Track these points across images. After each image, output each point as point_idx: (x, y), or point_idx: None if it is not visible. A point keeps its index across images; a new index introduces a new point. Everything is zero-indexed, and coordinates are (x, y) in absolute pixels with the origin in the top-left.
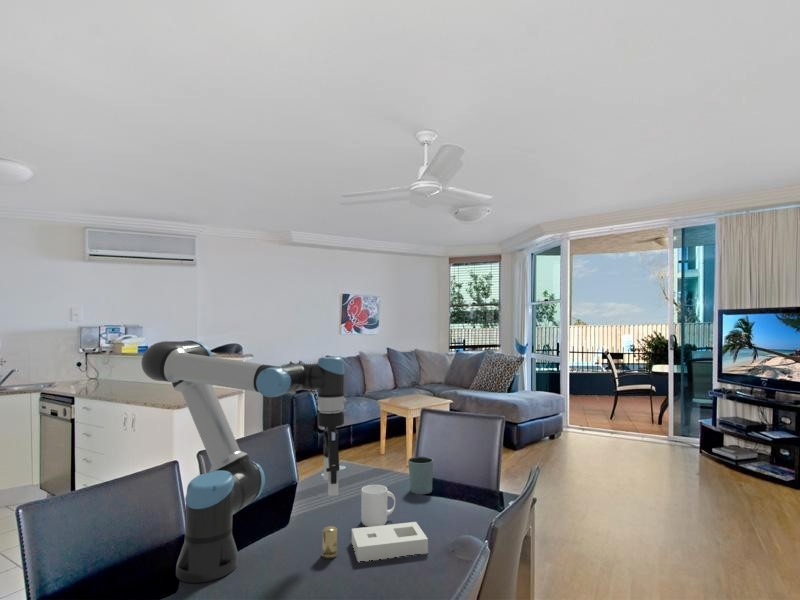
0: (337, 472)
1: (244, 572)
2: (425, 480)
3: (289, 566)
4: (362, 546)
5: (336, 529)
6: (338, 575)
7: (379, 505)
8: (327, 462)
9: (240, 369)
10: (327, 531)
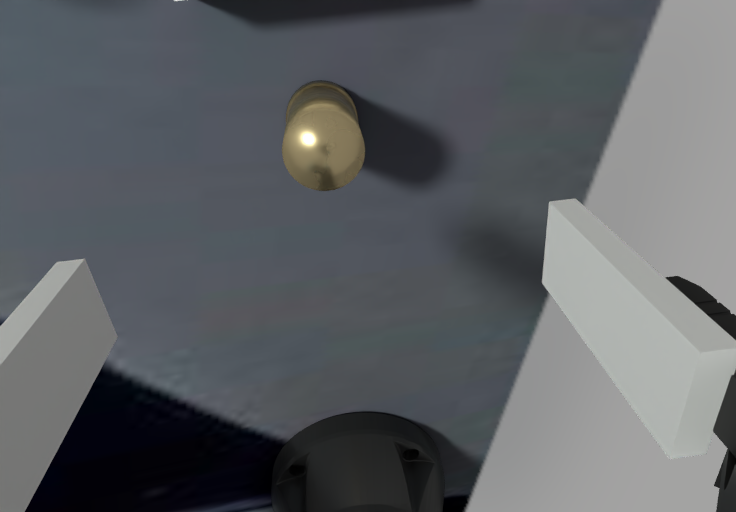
0: (718, 338)
1: (403, 385)
2: None
3: (391, 265)
4: None
5: (332, 114)
6: (505, 75)
7: None
8: (15, 456)
9: None
10: (350, 164)
